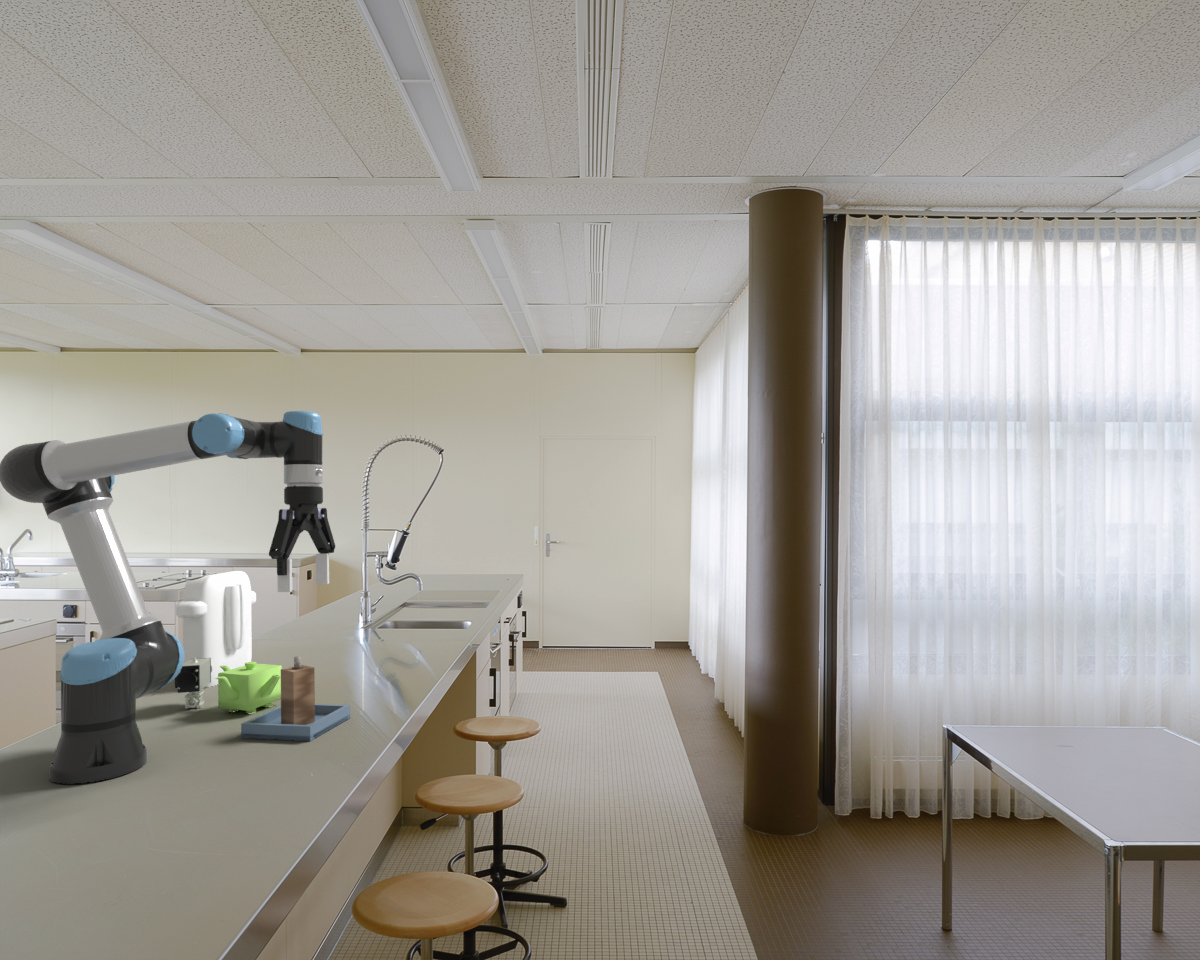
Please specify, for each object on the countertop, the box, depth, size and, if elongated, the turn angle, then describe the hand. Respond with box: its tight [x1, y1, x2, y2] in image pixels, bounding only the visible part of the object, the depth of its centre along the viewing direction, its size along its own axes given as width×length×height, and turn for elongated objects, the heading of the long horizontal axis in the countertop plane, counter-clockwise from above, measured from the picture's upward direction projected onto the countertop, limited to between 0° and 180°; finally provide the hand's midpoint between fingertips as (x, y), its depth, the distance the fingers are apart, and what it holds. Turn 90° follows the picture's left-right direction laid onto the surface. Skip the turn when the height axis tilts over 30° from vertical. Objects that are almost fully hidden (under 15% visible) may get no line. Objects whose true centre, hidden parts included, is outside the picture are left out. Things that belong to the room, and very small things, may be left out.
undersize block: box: [280, 655, 316, 725], centre depth 162 cm, size 5×5×14 cm
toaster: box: [175, 570, 257, 689], centre depth 208 cm, size 27×11×30 cm, turn 171°
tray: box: [240, 703, 351, 742], centre depth 162 cm, size 16×16×3 cm
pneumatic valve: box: [174, 657, 212, 710], centre depth 180 cm, size 6×12×12 cm, turn 11°
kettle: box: [215, 661, 283, 714], centre depth 177 cm, size 15×14×11 cm
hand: (304, 587), depth 153 cm, fingers open, 13 cm apart
